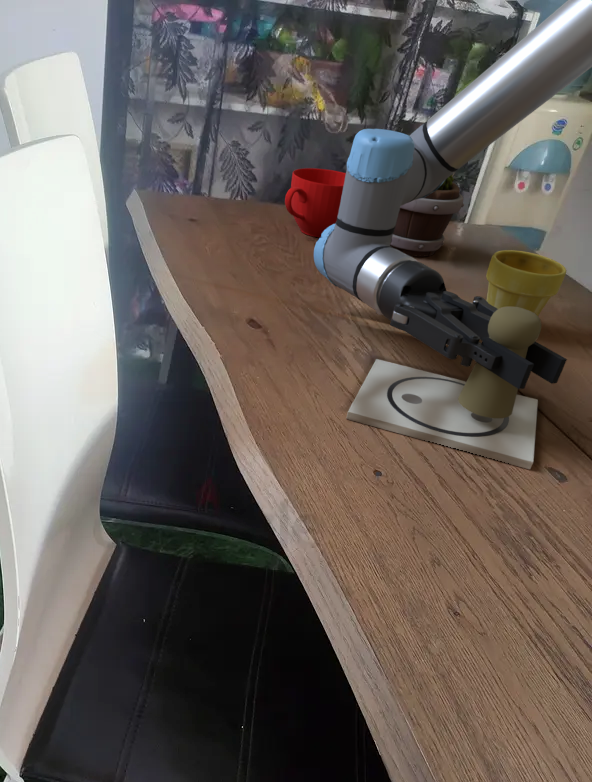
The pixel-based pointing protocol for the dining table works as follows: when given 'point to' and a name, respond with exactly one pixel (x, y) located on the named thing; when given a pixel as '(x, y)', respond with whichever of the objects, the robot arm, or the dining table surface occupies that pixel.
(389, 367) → the drawing sheet
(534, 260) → the flower pot
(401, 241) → the flowerpot
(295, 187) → the ceramic cup
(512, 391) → the olive pawn
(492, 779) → the dining table surface
